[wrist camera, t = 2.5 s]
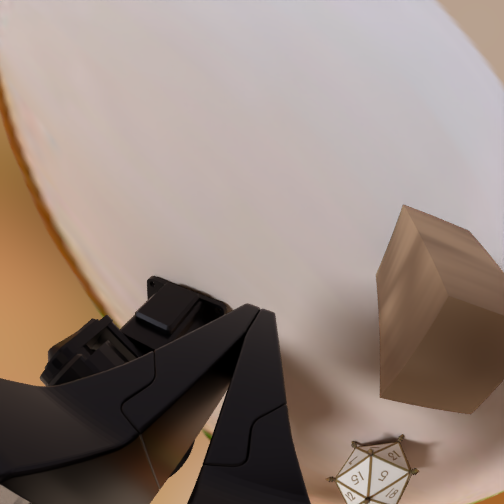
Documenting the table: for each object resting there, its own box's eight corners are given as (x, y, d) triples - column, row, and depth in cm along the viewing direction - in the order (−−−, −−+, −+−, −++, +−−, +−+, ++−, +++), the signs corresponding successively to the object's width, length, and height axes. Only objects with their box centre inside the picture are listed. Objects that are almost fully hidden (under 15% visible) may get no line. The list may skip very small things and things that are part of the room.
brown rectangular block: (438, 295, 15) (470, 414, 8) (375, 275, 16) (379, 397, 9) (469, 231, 13) (541, 329, 6) (403, 204, 14) (448, 295, 7)
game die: (398, 415, 25) (446, 477, 17) (342, 459, 27) (381, 520, 19) (363, 414, 21) (425, 500, 12) (295, 465, 22) (339, 546, 14)
